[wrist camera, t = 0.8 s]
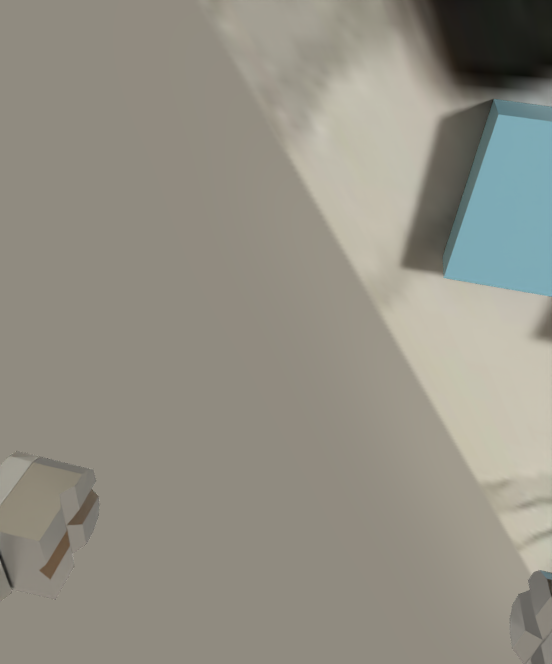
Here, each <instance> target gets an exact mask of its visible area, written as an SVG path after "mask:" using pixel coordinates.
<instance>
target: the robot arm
mask: <svg viewBox="0 0 552 664" xmlns="http://www.w3.org/2000/svg"><path fill="white" fill-rule="evenodd" d="M95 482H96V478H95V473H94V470H93V469H89V468H85V467H81V466H76V465H73V464H68V463H65V462H60V461H56V460H52V459H48V458H44V457H41V456H36V455H32V454H28V453H23V452H19V451H16V452H14V453H13V454H11V455H10V456H8V457H7V458H6V459H5V461H4V462H3V463H2V464H1V465H0V601H2V600H3V599H4V598H6V597H7V596H8V595H10V594H11V593H12V591H11V590H15V591H20V592H25V593H29V594H33V595H38V596H42V597H46V598H51V599H56V598H57V596H58V595H59V593H60V591H61V589H62V587H63V586H64V584H65V582H66V580H67V578H68V577H69V575H70V573H71V571H72V570H73V568H74V560H73V553H74V552H75V551H77V550H79V549H80V548H81V547H83V546H85V545H86V544H87V542H88V540H89V539H90V537H91V535H92V533H93V531H94V528H95V525H96V522H97V519H98V516H99V506H100V503H99V496H98V495H97V494H96V493H95V492H94V491H93V490H92V487H93V486H94V484H95ZM528 583H529V588H530V590H529V591H526V592H523V593H521V594H519V595H518V596H517V598H516V600H515V601H514V603H513V605H512V610H511V615H510V637H511V643H512V649H513V650H514V652H515V653H516V654H517V656H518V657H519V659H520V660H521V661H522V663H523V664H552V573H551V572H546V571H541V570H539V571H536V572H534V573H533V574H532V575H531V577H530V578H529V580H528Z"/></svg>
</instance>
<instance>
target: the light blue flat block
mask: <svg viewBox="0 0 552 664" xmlns="http://www.w3.org/2000/svg"><path fill="white" fill-rule="evenodd" d="M443 274H444V278H448V279H453V280H459V281H465V282H471V283H476V284H482V285H488V286H494V287H499V288H505V289H511V290H517V291H522V292H528V293H534V294H540V295H545V296H551V297H552V107H549V106H542V105H534V104H527V103H519V102H512V101H505V100H497V99H494V100H493V103H492V106H491V109H490V112H489V115H488V118H487V122H486V125H485V128H484V131H483V134H482V137H481V140H480V143H479V146H478V149H477V152H476V155H475V159H474V162H473V165H472V168H471V171H470V174H469V177H468V180H467V183H466V186H465V189H464V193H463V196H462V199H461V202H460V205H459V208H458V211H457V214H456V217H455V220H454V223H453V226H452V230H451V233H450V236H449V239H448V242H447V245H446V248H445V251H444V254H443Z"/></svg>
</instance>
